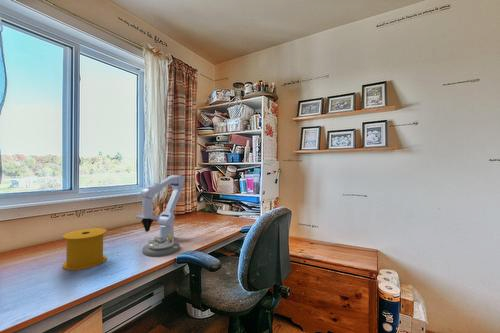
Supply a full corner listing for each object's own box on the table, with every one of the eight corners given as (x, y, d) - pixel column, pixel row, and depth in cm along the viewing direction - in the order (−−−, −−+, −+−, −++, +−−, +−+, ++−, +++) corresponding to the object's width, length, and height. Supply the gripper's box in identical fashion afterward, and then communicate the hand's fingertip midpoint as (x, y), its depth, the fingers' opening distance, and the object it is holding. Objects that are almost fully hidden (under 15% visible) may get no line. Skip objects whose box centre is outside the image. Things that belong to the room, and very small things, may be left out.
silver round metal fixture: (142, 249, 129) (143, 235, 129) (157, 241, 142) (157, 228, 142) (166, 251, 126) (166, 237, 126) (178, 242, 140) (178, 230, 140)
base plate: (155, 243, 146) (155, 239, 146) (185, 245, 143) (185, 241, 143) (134, 255, 126) (134, 250, 126) (168, 257, 123) (168, 253, 123)
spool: (110, 262, 116) (110, 233, 116) (64, 274, 103) (65, 240, 103) (101, 252, 129) (102, 226, 129) (60, 261, 116) (60, 232, 116)
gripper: (132, 209, 136) (132, 232, 136) (154, 210, 134) (154, 233, 134) (139, 207, 143) (139, 229, 143) (161, 208, 141) (161, 230, 141)
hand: (147, 231), depth 139 cm, fingers closed
